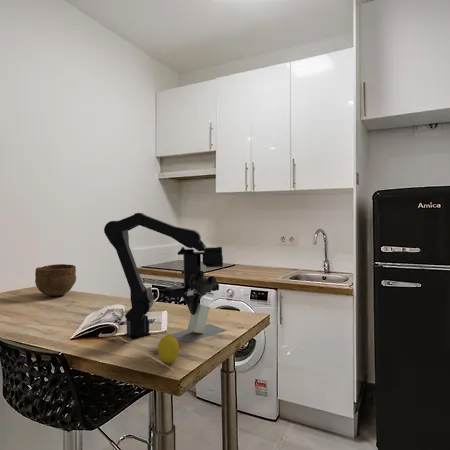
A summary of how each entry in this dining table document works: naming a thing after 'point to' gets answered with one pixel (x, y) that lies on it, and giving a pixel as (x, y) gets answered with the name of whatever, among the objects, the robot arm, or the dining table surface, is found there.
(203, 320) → the block
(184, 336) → the mat
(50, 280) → the bowl
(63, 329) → the dining table surface
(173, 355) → the lemon
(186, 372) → the dining table surface
